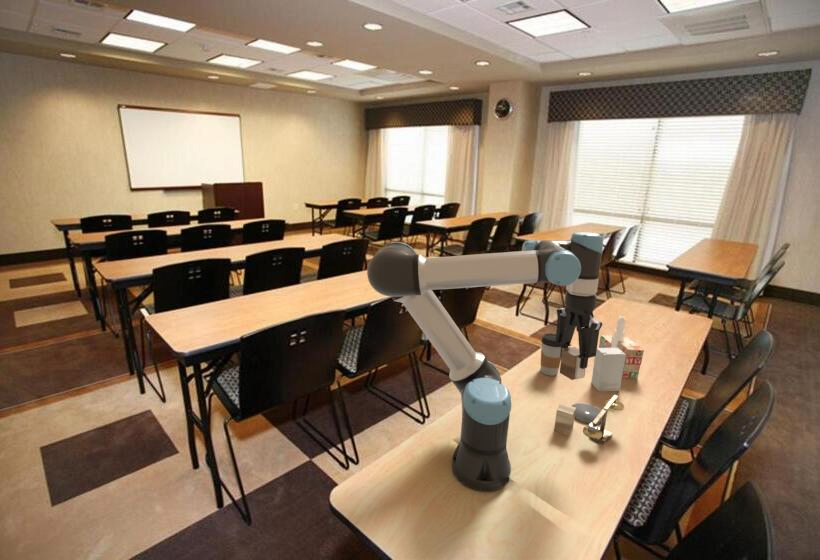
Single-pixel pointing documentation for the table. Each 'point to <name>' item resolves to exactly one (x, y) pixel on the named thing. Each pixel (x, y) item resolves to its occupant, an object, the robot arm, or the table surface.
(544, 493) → the table surface
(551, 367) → the coffee cup
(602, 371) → the skincare box
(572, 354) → the walnut block
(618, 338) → the cosmetic bottle
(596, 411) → the plate
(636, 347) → the stack of blocks
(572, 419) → the maple block
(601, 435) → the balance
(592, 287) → the robot arm
